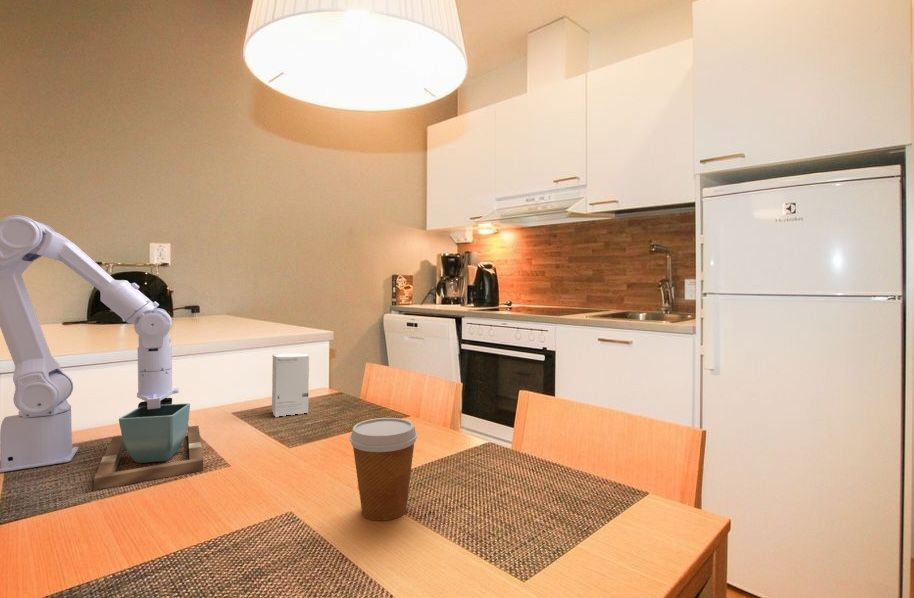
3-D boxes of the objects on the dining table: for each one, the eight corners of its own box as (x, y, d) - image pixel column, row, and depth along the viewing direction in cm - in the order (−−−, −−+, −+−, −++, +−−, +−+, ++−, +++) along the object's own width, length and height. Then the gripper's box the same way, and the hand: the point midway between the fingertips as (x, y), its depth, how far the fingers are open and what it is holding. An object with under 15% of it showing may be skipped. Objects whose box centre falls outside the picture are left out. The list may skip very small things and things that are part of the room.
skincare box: (274, 418, 112) (273, 357, 112) (271, 412, 118) (270, 353, 117) (310, 413, 116) (309, 354, 116) (305, 408, 122) (305, 351, 121)
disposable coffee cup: (388, 534, 59) (387, 441, 59) (335, 515, 64) (334, 429, 64) (431, 504, 67) (430, 423, 67) (381, 489, 72) (380, 413, 72)
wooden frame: (94, 490, 73) (93, 476, 73) (112, 446, 93) (112, 435, 93) (203, 470, 80) (203, 458, 80) (198, 433, 100) (198, 424, 100)
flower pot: (118, 469, 81) (117, 418, 81) (142, 451, 90) (141, 405, 89) (173, 465, 83) (172, 415, 82) (192, 448, 91) (191, 403, 91)
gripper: (178, 373, 89) (179, 443, 89) (178, 362, 101) (179, 424, 101) (133, 376, 85) (134, 450, 85) (139, 365, 97) (140, 429, 98)
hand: (156, 436), depth 93 cm, fingers closed
